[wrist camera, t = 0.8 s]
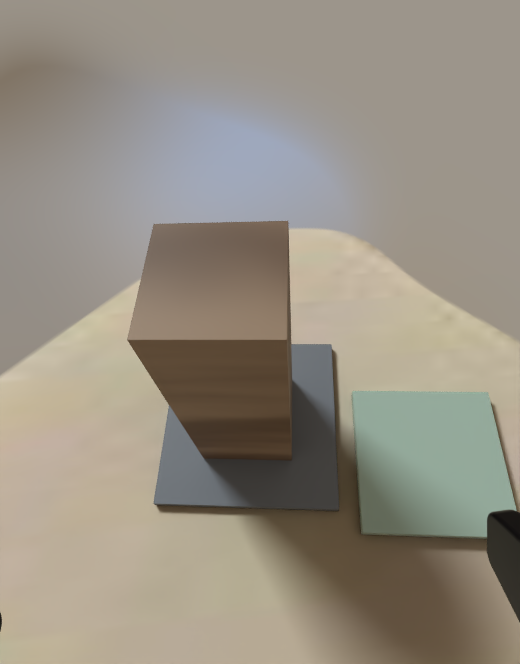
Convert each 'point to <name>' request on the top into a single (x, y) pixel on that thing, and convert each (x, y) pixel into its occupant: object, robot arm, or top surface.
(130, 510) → the top surface
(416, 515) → the sage board
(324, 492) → the card
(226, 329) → the walnut block
